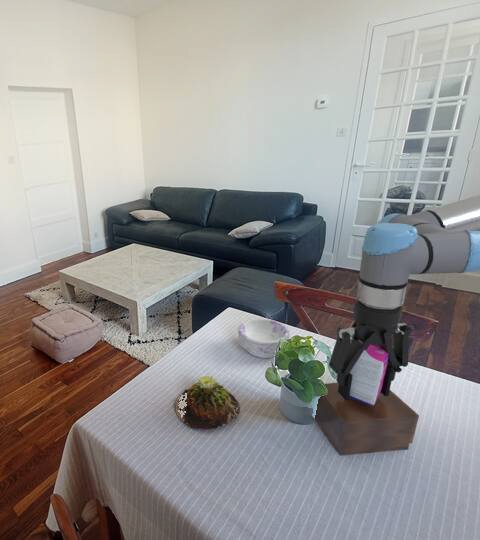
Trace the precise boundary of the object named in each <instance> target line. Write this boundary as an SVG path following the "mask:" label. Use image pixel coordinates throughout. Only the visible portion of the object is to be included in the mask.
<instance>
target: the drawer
mask: <svg viewBox="0 0 480 540" xmlns="http://www.w3.org/2000/svg"><path fill="white" fill-rule="evenodd" d="M390 392H391V393H393V394H394V395H395V396H396V397H397V398H398V399H399V400H400V401H402V402H403V403H404V404H405V405H406V406H407V407H408V408H409V409H411V410H412V411H413V412H414V413H415V414H416V419H415V423H414V427H413V431H412V435H411V439H410V443H409V445H411V444H413V442H414V438H415V433H416V430H417V426H418V421H419V417H420V415H419V414H418V413H417V412H416V411H415V410H413V408H411V407H410V406H409V405H408V404H407V403H406V402H405V401H404V400H403V399H402V398H400V397H399V396H398V395H397V394H395V392H393V391H392V390H391V389H390Z"/></svg>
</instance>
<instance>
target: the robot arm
mask: <svg viewBox="0 0 480 540" xmlns="http://www.w3.org/2000/svg"><path fill="white" fill-rule="evenodd" d="M474 272H480V194H476V195H473V196H470V197H466V198H464V199H460V200H457V201H454V202H450V203H446V204H444V205H440V206H437V207H434V208H429V209H427V210H422V211H419V212H416V213H413V214H406V213H397V212H396V213H390V214H387V215H385V216H383V217H382V218H381V219H380V220H379V221H378V222H377V223H375V224H373V225H371V226H369V227H368V228H367V229H366V232H365V236H364V240H363V244H362V247H361V260H360V267H359V276H358V281H357V287H356V294H355V298H356V299H355V301H354V307H353V318H354V319H353V320H354V321H353V323H352V324H351V326H350V327H348V328H343V327H341V326H340V327H337V329H336V336H337V337H336V340H335V343H334V347H333V350H332V353H331V355H330V359H329V363H328V367H329V368H330V369H331V370H332V371H333V372H334V373H335V374H336V379H335V380H336V383H337V382H338V384H339V386H338V393H339V394H340V395H341V396H342V397H343V398H344V399H345V400H349V396H350V389H351V383H352V377H353V375H352V374H351V373H350V371H351V370H352V368H353V367H354V365H355V363H356V362H357V360H358V359H359V357H360V356H361V354H362V353H363V351H364V350H367V349H368V347H369V346H370V345H375V344H376V345H378V347H379V348H381V349H383V350H384V351H385V352H387V353H388V363H387V367H386V372H385V376H384V381H383V385H382V390H381V393H382V394H383V395H384V396H389V391H390V390H391V386H392V382H394V380H395V378H396V374H397V373H401V372H402V371H403V370H402V369H403V368H402V367H404V368H406V367H408V366H409V348H410V347H409V341H410V336H411V333H412V330H413V328H412V327H411V326H410V325H408V324H407V323H405V322H404V321H403V320H401V317H402V312H403V305H404V303H405V297H406V293H407V287H408V282H409V278H410V275H432V274H435V275H436V274H465V273H474ZM392 335H393V341H392ZM361 342H362V343H361Z"/></svg>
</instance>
